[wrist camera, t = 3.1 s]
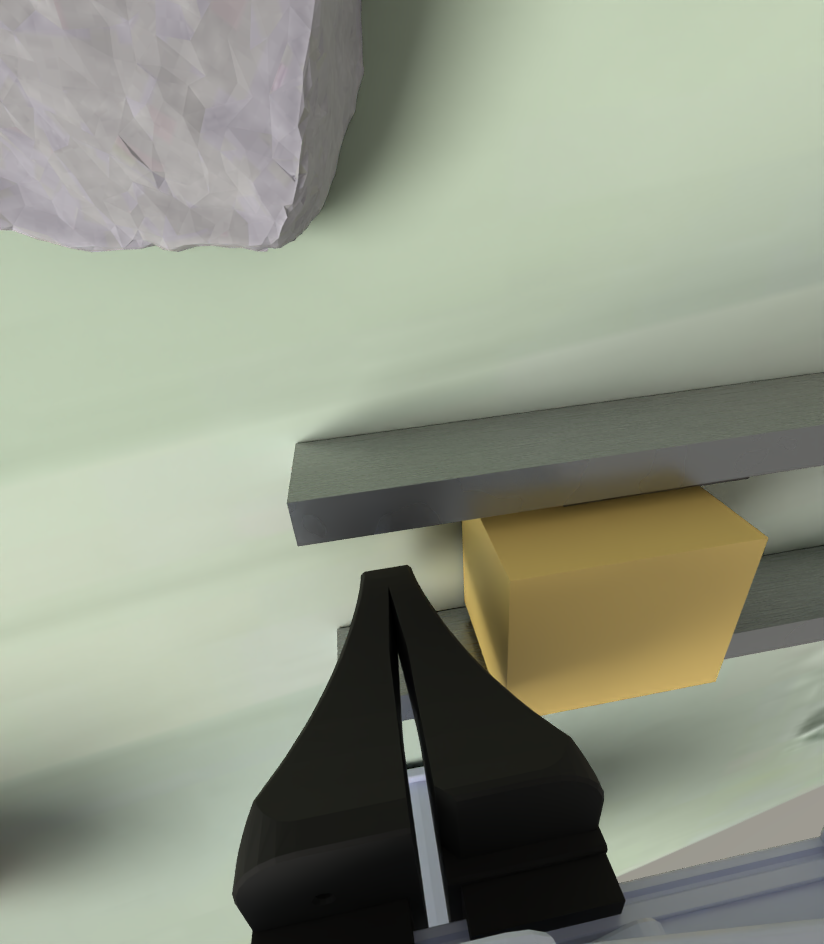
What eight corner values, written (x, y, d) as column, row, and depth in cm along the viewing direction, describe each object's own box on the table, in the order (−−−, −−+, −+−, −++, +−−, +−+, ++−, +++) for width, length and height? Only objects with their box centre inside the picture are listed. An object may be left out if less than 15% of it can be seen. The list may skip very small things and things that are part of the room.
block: (627, 573, 17) (715, 681, 13) (464, 601, 16) (505, 722, 13) (651, 449, 15) (768, 537, 11) (460, 477, 14) (510, 581, 10)
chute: (959, 543, 19) (1056, 595, 17) (342, 652, 17) (344, 731, 14) (1088, 336, 15) (1243, 363, 13) (295, 443, 13) (287, 503, 10)
